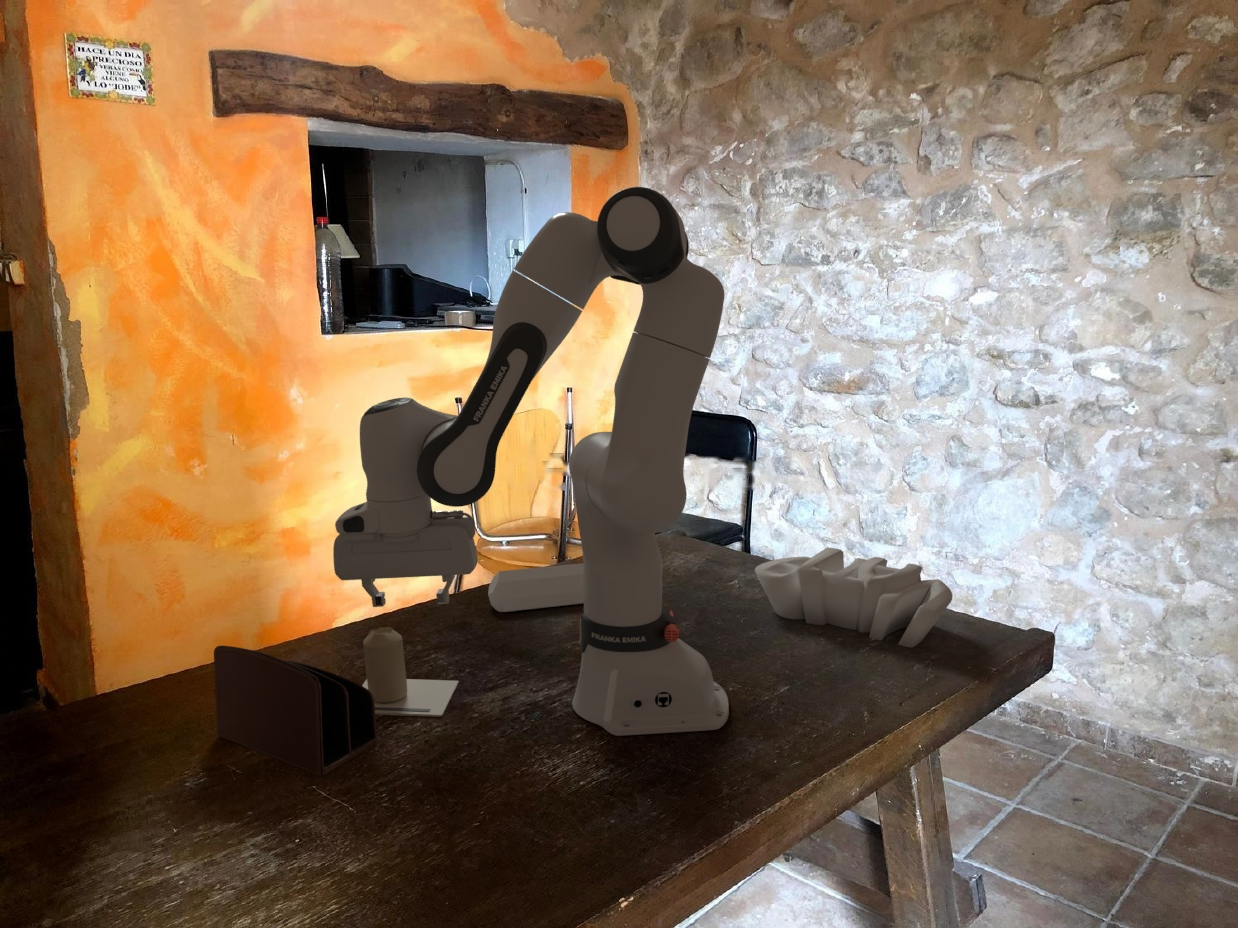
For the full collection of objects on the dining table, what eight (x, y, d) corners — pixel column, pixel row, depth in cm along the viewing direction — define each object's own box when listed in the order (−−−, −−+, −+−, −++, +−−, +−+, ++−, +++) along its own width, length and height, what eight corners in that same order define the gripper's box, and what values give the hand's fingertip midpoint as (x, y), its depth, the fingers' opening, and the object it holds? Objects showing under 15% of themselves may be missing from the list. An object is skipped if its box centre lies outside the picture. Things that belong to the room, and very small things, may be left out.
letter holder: (321, 779, 122) (314, 674, 119) (216, 738, 132) (207, 640, 129) (378, 745, 131) (373, 645, 128) (276, 708, 141) (269, 616, 137)
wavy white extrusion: (967, 632, 170) (972, 574, 168) (931, 663, 157) (937, 601, 155) (787, 588, 191) (790, 536, 189) (743, 612, 179) (745, 556, 176)
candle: (397, 704, 140) (390, 637, 138) (362, 702, 142) (354, 636, 140) (414, 687, 146) (407, 623, 144) (380, 686, 147) (373, 622, 145)
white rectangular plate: (458, 682, 149) (458, 680, 149) (442, 716, 138) (441, 714, 138) (367, 679, 150) (367, 677, 150) (344, 713, 139) (343, 710, 139)
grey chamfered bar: (605, 567, 191) (482, 579, 183) (615, 559, 184) (488, 571, 177) (610, 605, 189) (486, 618, 181) (621, 598, 182) (492, 612, 175)
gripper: (476, 503, 142) (485, 592, 146) (337, 510, 143) (349, 599, 146) (469, 515, 136) (478, 609, 139) (323, 523, 137) (336, 615, 140)
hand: (411, 604), depth 143 cm, fingers open, 8 cm apart
